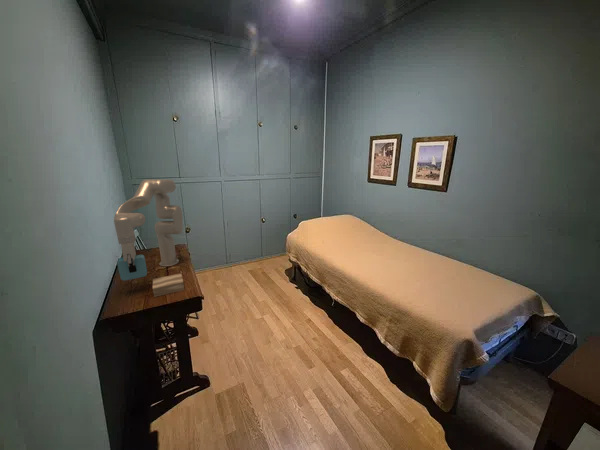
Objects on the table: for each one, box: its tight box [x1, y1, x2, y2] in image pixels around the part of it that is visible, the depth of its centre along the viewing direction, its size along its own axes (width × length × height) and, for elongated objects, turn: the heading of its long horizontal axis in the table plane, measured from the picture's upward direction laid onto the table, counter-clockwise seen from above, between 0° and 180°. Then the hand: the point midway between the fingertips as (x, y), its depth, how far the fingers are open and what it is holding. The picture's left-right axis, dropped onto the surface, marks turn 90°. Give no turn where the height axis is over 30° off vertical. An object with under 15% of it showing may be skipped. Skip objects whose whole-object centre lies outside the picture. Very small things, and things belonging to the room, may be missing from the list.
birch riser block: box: [152, 272, 185, 298], centre depth 137 cm, size 13×15×5 cm
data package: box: [116, 254, 148, 281], centre depth 131 cm, size 12×4×12 cm, turn 119°
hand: (133, 269), depth 131 cm, fingers closed on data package, 4 cm apart
